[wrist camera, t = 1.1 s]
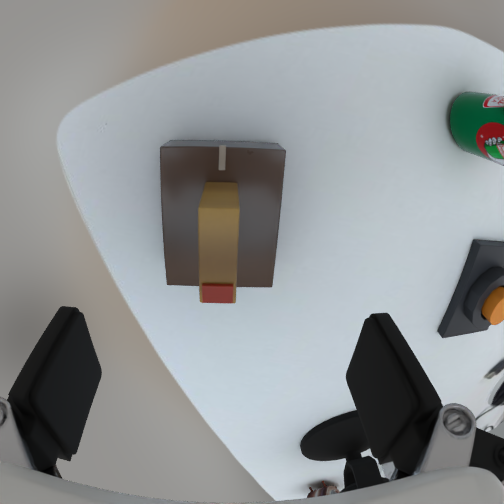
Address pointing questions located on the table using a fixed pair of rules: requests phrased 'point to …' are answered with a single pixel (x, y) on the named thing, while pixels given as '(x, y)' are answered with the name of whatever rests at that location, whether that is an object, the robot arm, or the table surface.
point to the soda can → (479, 125)
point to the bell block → (474, 289)
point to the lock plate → (250, 201)
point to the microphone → (344, 450)
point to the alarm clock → (323, 491)
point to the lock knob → (218, 242)
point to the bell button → (494, 306)
